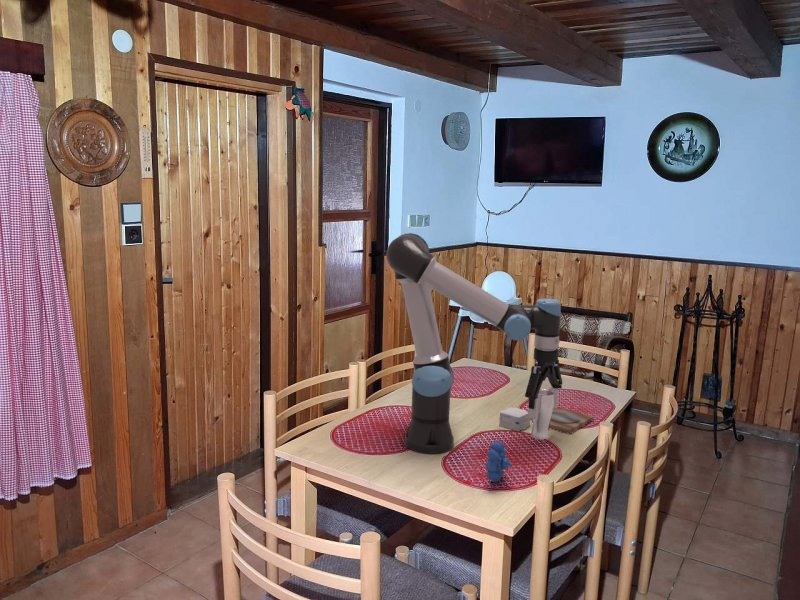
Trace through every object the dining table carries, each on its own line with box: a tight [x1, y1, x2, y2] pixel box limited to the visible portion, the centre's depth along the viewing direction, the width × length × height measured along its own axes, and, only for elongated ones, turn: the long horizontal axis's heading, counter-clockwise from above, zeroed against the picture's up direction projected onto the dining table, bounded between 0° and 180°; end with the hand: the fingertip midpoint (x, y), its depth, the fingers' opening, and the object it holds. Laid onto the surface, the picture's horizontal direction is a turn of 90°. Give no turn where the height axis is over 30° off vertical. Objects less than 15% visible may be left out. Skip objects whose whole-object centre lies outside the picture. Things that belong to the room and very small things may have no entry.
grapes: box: [484, 440, 512, 483], centre depth 178 cm, size 12×7×12 cm, turn 153°
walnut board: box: [531, 406, 595, 435], centre depth 227 cm, size 18×14×2 cm
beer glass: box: [530, 388, 554, 441], centre depth 212 cm, size 7×7×15 cm
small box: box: [499, 406, 532, 432], centre depth 222 cm, size 8×8×5 cm
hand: (542, 412), depth 212 cm, fingers open, 13 cm apart
